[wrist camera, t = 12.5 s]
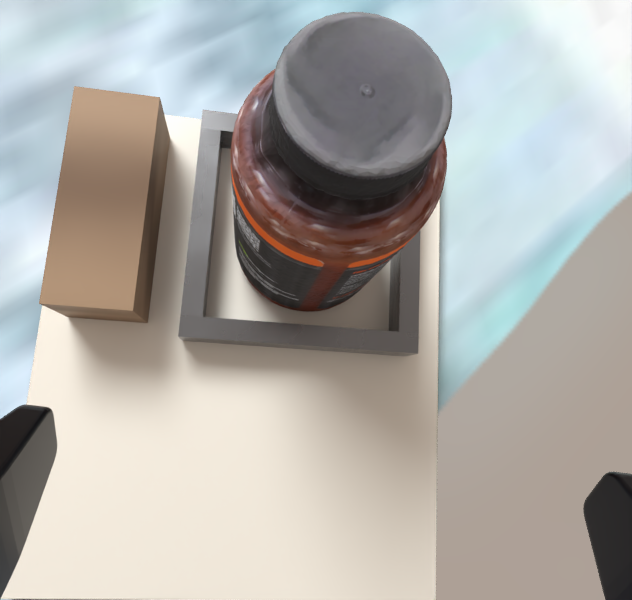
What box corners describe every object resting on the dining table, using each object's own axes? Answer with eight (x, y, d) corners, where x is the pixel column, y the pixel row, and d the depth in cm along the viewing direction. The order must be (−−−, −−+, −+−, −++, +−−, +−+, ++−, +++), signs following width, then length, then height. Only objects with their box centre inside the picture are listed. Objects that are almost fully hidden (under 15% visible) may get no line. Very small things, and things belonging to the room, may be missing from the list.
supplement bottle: (394, 220, 23) (539, 53, 12) (336, 339, 21) (439, 276, 10) (274, 155, 23) (307, -76, 12) (207, 273, 21) (173, 135, 10)
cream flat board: (426, 591, 21) (435, 601, 20) (7, 588, 19) (-6, 598, 18) (432, 159, 25) (440, 149, 24) (81, 116, 23) (75, 103, 22)
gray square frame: (406, 356, 22) (418, 353, 20) (182, 340, 21) (178, 336, 19) (410, 153, 24) (422, 137, 22) (204, 128, 22) (202, 109, 21)
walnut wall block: (147, 323, 20) (132, 310, 18) (68, 317, 20) (39, 303, 17) (170, 137, 22) (159, 97, 19) (96, 128, 22) (74, 86, 19)
